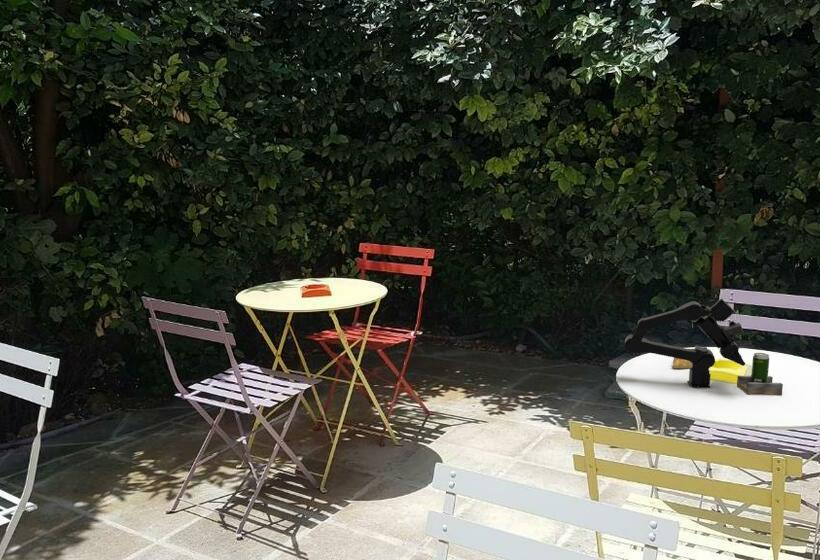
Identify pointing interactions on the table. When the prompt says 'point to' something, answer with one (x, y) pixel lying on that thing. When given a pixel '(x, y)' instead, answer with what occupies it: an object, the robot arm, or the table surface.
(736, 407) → the table surface
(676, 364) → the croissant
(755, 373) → the beer can
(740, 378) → the track board
